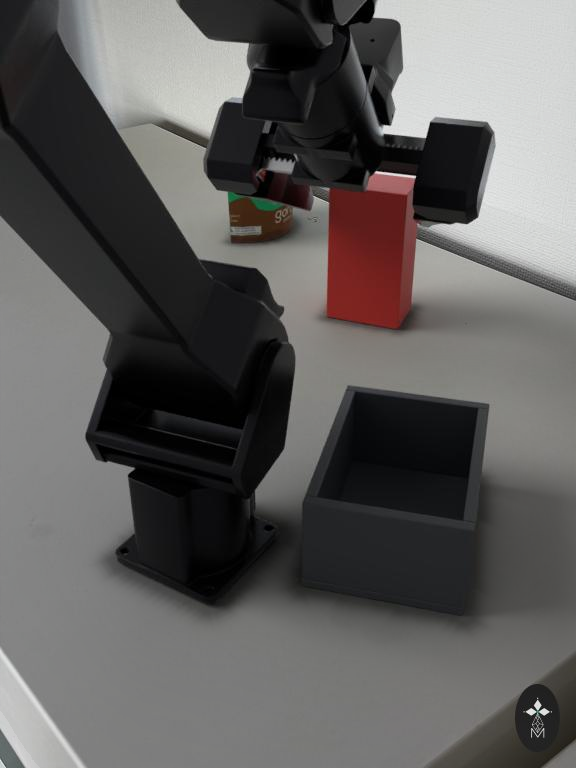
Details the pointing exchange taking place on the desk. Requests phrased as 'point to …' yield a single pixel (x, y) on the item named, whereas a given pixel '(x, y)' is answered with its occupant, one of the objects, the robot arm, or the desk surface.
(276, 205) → the food container
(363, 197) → the block
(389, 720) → the desk surface
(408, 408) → the bin
